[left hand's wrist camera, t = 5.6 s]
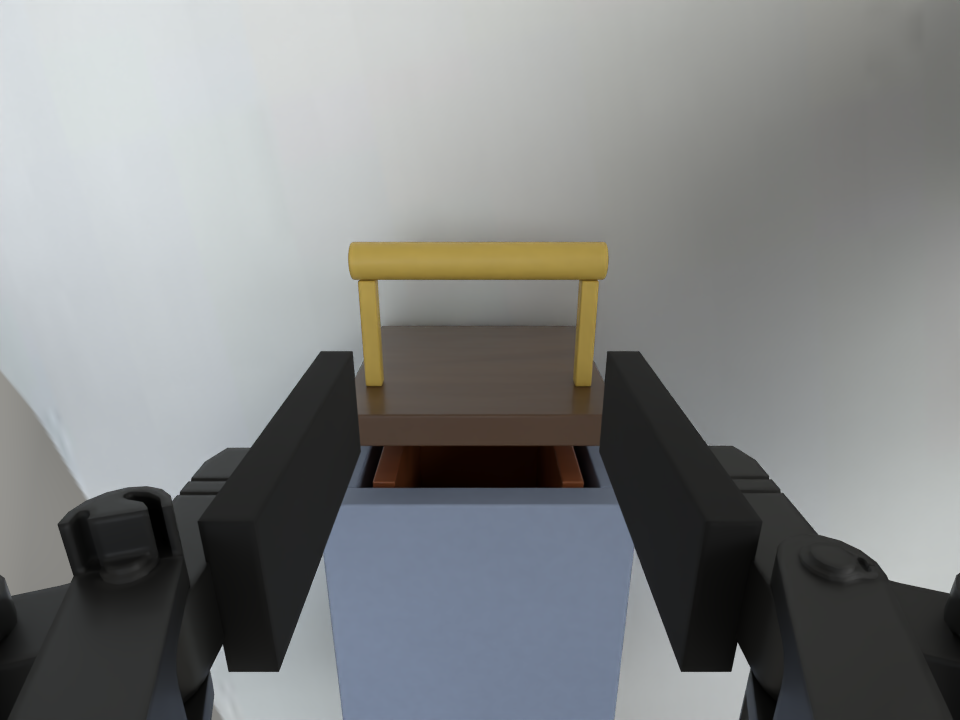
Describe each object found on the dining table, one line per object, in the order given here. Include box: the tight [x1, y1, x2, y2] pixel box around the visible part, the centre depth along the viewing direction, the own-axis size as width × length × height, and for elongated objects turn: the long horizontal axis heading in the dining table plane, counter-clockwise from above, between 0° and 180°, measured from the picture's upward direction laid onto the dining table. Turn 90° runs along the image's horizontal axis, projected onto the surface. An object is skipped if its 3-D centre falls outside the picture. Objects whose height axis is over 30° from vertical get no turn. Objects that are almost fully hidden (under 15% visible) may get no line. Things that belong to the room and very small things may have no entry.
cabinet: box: [323, 446, 634, 720], centre depth 28 cm, size 18×11×12 cm, turn 0°
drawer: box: [348, 242, 608, 488], centre depth 26 cm, size 22×10×10 cm, turn 0°
